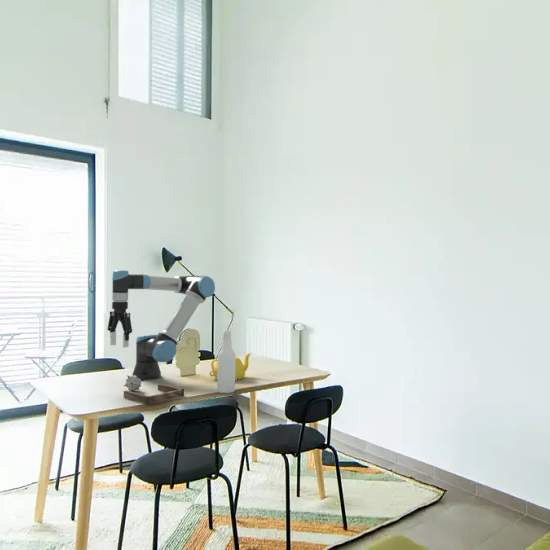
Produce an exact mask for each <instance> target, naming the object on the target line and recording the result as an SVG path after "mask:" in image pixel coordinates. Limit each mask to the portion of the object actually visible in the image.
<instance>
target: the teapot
mask: <svg viewBox="0 0 550 550" xmlns="http://www.w3.org/2000/svg"><path fill="white" fill-rule="evenodd" d="M251 355H252V352H249V353H247V354H246V355H245V357H244V360H243V361H244V362H242V360H241V359H240V357H239V356H236V363H235V380H236V379H241V378H242V379H243V378H244V377H245V376H246V371H247V370H248V369H249V358H250V356H251ZM215 362H216V363H215ZM210 363H211V364H210V366H211V371H209V376H210V377H214V378H215V379H216V380H217V365H218V358H215V359H213V360H212V361H211V362H210ZM214 364H215V365H214ZM242 379H241V380H242ZM236 381H237V380H236Z"/></svg>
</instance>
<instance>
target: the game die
mask: <svg viewBox="0 0 550 550" xmlns="http://www.w3.org/2000/svg"><path fill="white" fill-rule="evenodd" d="M142 382H144V380H142V379H140V378H139V376H136V374H135V375H134V376H133V375H130V376H129V375H127V379H126V382H125V384H124V385H123V387H126V388H128V391H130V392H134V391H137V390H138V391H139V390H140V387H142Z"/></svg>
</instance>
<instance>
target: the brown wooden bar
mask: <svg viewBox="0 0 550 550" xmlns="http://www.w3.org/2000/svg"><path fill="white" fill-rule="evenodd" d="M158 390H159V391H160V392H162V391H163V392H162V393H156V394H153V395H145V394H141V393H138V392H134V391H133V392H132V391H131V390H124V391H123V398H124V397H125V398H124V399H127V398H128V400H131V401H135V402H138V403H143V404H146V405H150V404H154V403H158V402H164V401H167V400H171V399H177V398H180V397H181V398H182V397H184V396H185V389H184V388H180V387H177V386H171V385H168V384H162V383H157V391H158Z"/></svg>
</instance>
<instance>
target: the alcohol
mask: <svg viewBox="0 0 550 550" xmlns="http://www.w3.org/2000/svg"><path fill="white" fill-rule="evenodd" d="M221 344H222V346H221V349H220V350H219V352H218V354H217V359H218V365H217V379H216V391H217V392H218V393H220V394H233V393H234V392H235V391H236V381H235V363H236V357H237V355H236V353H235V351H234V350H233V347H232V330H231V329H223V330H222V343H221Z"/></svg>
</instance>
